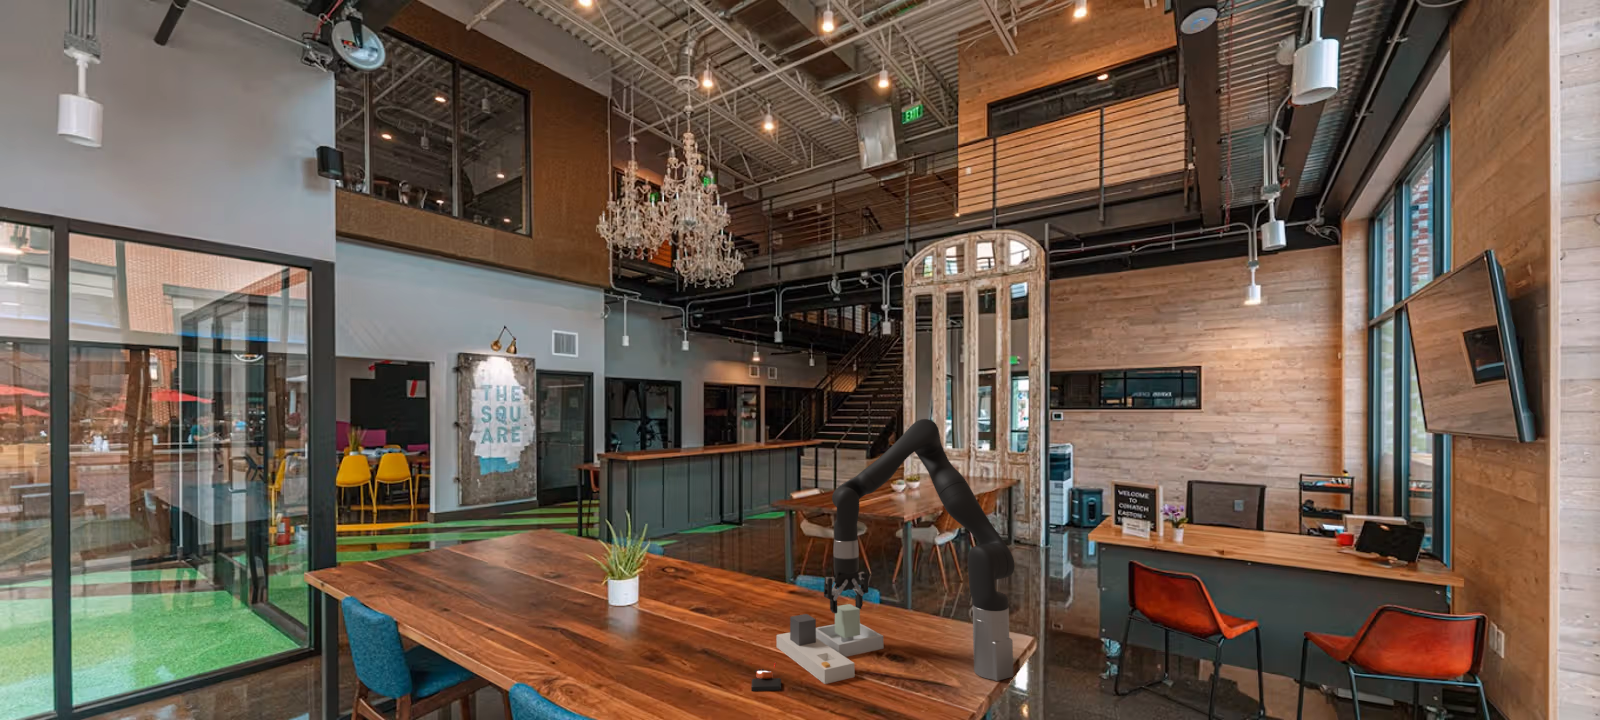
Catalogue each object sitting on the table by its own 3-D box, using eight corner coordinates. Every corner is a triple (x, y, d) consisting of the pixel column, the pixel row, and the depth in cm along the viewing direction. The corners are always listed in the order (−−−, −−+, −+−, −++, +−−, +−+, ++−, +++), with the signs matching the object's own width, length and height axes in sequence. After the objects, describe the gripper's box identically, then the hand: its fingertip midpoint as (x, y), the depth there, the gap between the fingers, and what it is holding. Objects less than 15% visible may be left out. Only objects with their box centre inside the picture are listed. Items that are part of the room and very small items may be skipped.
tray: (883, 648, 181) (883, 635, 181) (839, 658, 174) (838, 644, 174) (854, 632, 194) (854, 620, 194) (812, 640, 187) (812, 628, 187)
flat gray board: (854, 676, 161) (854, 660, 162) (824, 684, 157) (824, 667, 158) (803, 641, 186) (803, 627, 186) (776, 647, 182) (776, 632, 182)
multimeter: (742, 663, 171) (742, 650, 172) (785, 664, 171) (785, 651, 171) (732, 693, 153) (732, 679, 154) (780, 694, 153) (780, 679, 153)
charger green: (860, 643, 183) (859, 608, 184) (844, 647, 180) (844, 611, 181) (850, 637, 188) (849, 603, 189) (834, 640, 185) (834, 606, 186)
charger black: (815, 651, 176) (815, 619, 177) (799, 655, 173) (799, 622, 174) (806, 645, 181) (806, 613, 181) (790, 648, 178) (790, 616, 179)
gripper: (832, 559, 179) (832, 618, 177) (872, 554, 186) (873, 610, 184) (819, 554, 186) (819, 610, 184) (858, 550, 192) (859, 603, 191)
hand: (846, 610), depth 184 cm, fingers open, 8 cm apart
